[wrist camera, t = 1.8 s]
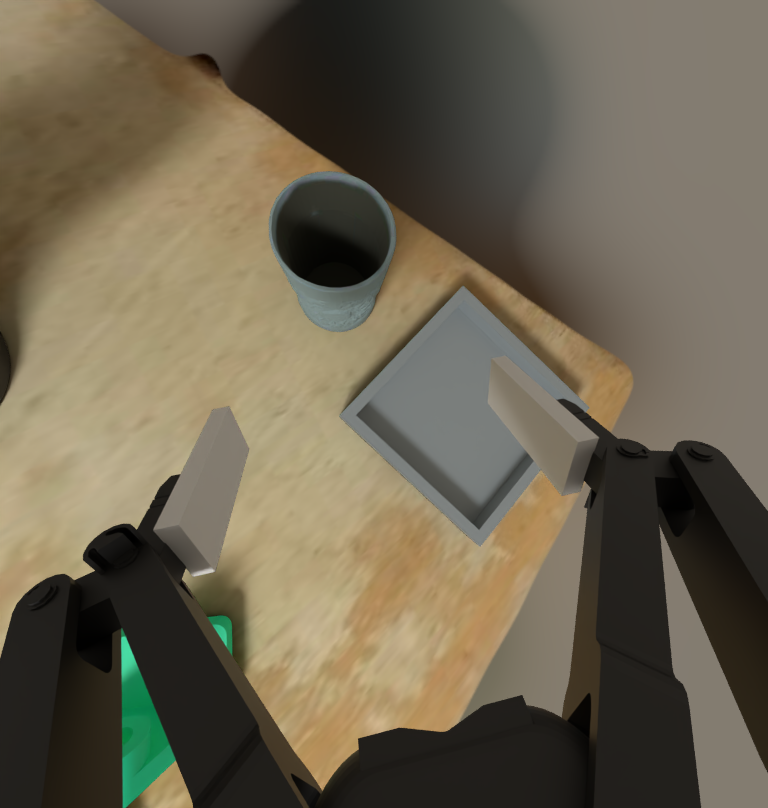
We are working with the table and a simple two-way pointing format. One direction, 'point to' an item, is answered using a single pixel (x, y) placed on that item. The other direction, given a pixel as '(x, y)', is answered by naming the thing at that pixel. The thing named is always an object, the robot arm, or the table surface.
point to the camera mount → (147, 722)
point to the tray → (453, 416)
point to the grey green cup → (333, 246)
